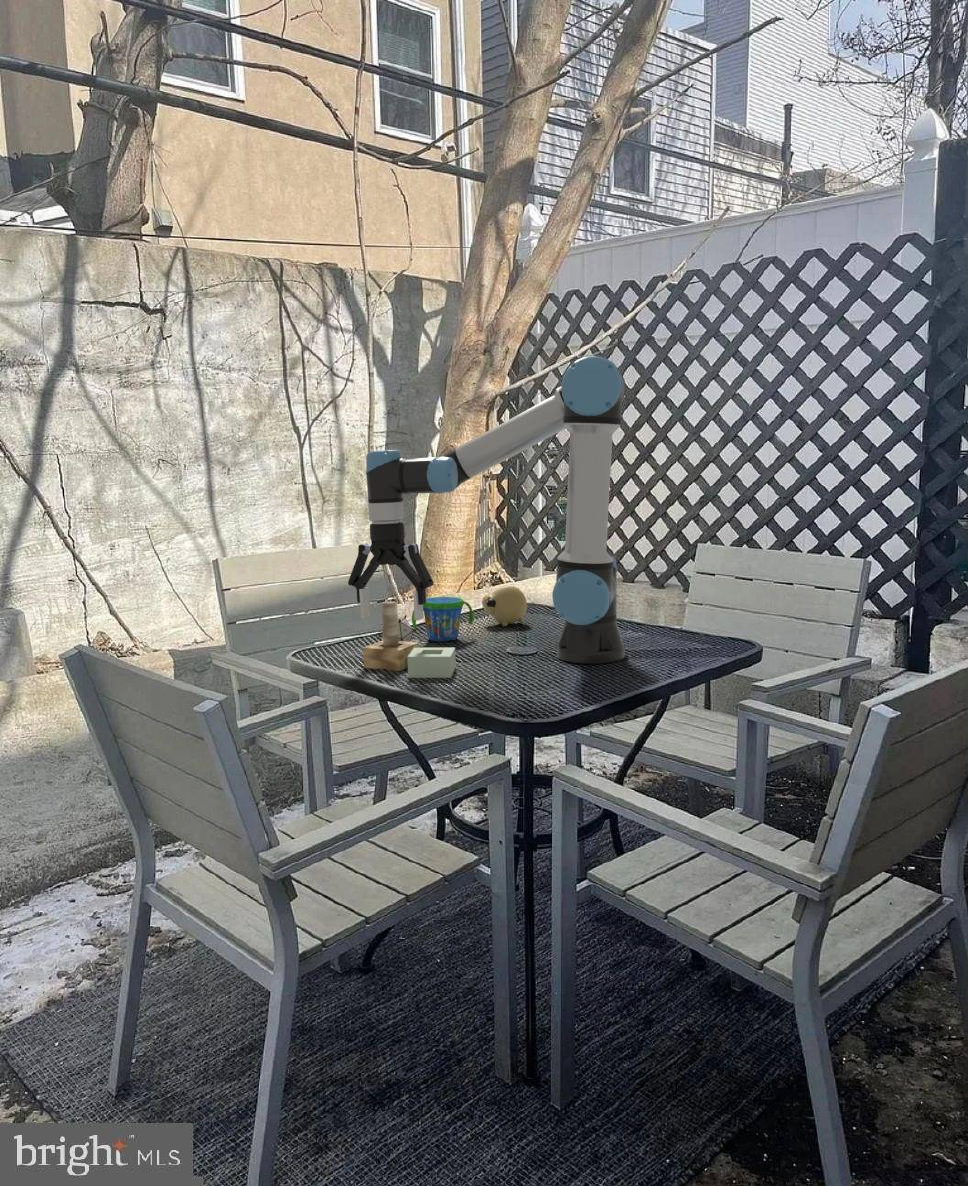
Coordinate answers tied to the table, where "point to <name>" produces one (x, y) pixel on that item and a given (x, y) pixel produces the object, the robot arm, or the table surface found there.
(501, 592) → the beige fuzzy round body
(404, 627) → the game die
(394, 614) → the dowel
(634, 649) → the table surface
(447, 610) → the snack cup
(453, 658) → the sage bead
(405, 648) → the wooden square ring
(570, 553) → the robot arm
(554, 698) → the table surface
